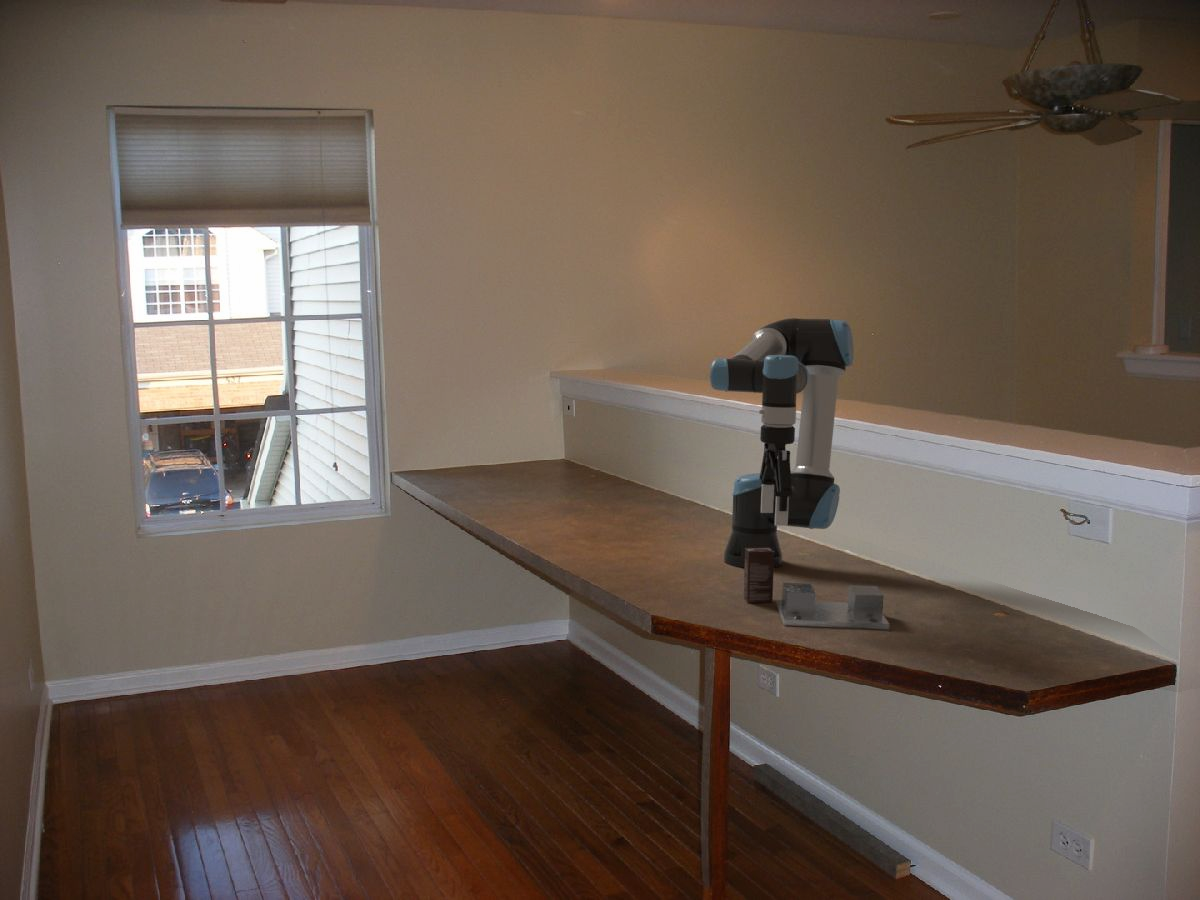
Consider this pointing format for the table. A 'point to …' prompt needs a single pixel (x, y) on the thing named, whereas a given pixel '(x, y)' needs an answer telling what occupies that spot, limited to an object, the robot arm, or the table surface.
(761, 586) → the box
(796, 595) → the wall mount bracket
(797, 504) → the robot arm
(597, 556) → the table surface
